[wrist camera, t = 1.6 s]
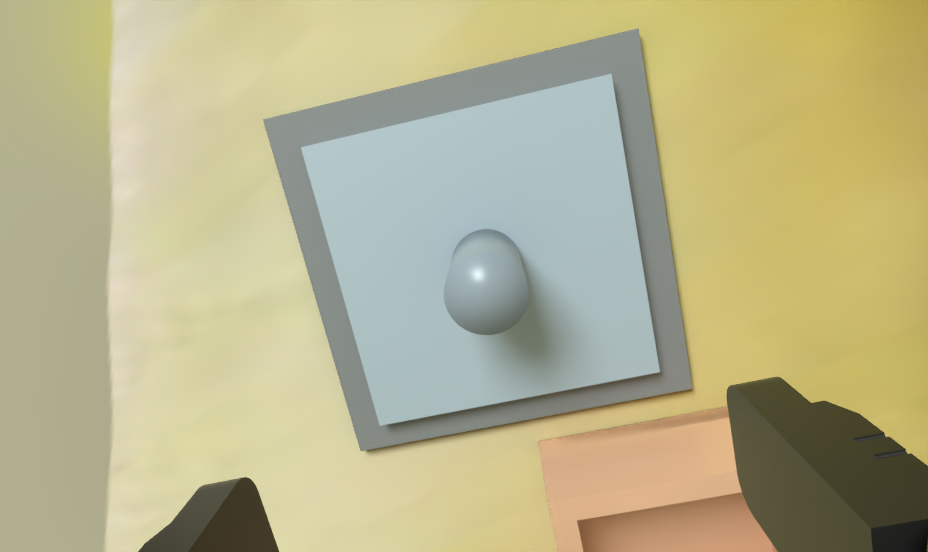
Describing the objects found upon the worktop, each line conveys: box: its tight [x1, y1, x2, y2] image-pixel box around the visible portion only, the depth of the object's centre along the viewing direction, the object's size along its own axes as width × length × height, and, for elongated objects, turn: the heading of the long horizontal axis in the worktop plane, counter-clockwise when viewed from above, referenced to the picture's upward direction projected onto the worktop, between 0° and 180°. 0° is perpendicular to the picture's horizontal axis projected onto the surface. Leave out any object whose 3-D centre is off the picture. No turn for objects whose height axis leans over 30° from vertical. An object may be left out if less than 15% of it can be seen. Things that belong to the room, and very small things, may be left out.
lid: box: [301, 74, 660, 426], centre depth 24 cm, size 13×13×6 cm
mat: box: [263, 29, 692, 451], centre depth 27 cm, size 16×16×1 cm
